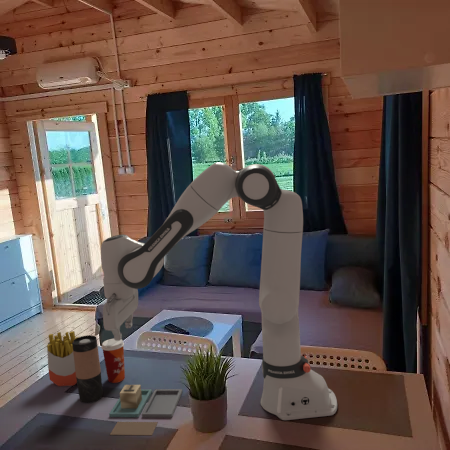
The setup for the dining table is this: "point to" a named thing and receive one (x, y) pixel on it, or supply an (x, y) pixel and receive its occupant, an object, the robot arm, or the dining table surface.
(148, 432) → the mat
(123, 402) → the letter cube
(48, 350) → the french fries container
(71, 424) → the dining table surface
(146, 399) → the teal bin
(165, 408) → the gray bin
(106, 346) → the paper cup
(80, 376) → the travel mug
